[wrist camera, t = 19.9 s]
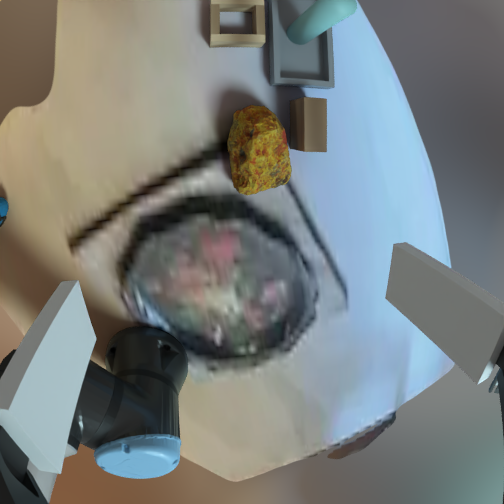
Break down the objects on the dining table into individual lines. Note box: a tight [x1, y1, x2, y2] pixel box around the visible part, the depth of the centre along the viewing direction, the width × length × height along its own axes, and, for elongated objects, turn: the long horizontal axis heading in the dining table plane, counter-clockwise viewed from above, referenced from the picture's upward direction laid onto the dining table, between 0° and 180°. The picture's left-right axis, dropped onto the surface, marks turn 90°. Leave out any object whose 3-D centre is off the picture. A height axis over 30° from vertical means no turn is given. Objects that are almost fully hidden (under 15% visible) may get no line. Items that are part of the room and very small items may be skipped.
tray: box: [268, 0, 334, 89], centre depth 34 cm, size 9×17×2 cm, turn 1°
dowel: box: [286, 0, 357, 45], centre depth 29 cm, size 4×4×14 cm
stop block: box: [290, 97, 327, 152], centre depth 38 cm, size 3×7×6 cm, turn 1°
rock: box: [227, 105, 292, 195], centre depth 39 cm, size 11×8×10 cm
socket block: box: [210, 0, 265, 48], centre depth 32 cm, size 7×7×3 cm
